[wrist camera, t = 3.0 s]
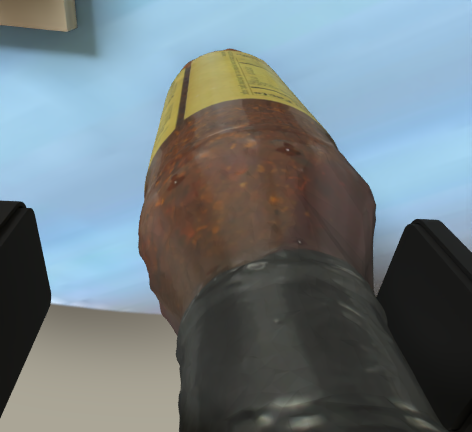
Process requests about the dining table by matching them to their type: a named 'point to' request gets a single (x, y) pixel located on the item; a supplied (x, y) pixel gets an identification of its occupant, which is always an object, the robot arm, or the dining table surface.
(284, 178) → the sauce bottle
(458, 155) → the dining table surface
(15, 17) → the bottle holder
